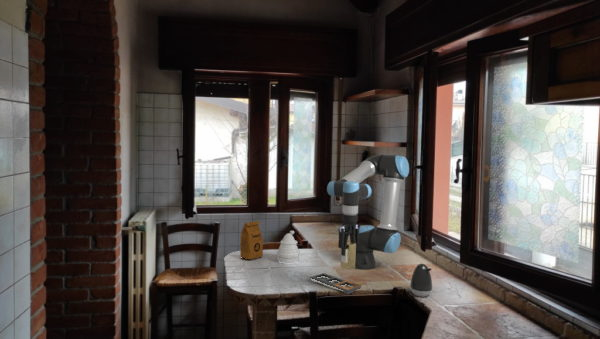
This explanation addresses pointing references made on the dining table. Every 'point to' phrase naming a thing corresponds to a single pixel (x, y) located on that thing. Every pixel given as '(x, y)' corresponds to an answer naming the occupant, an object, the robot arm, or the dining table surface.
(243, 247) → the coffee package
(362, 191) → the robot arm
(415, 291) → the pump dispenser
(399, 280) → the dining table surface
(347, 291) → the rail
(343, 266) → the brass peg
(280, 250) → the honey pot
